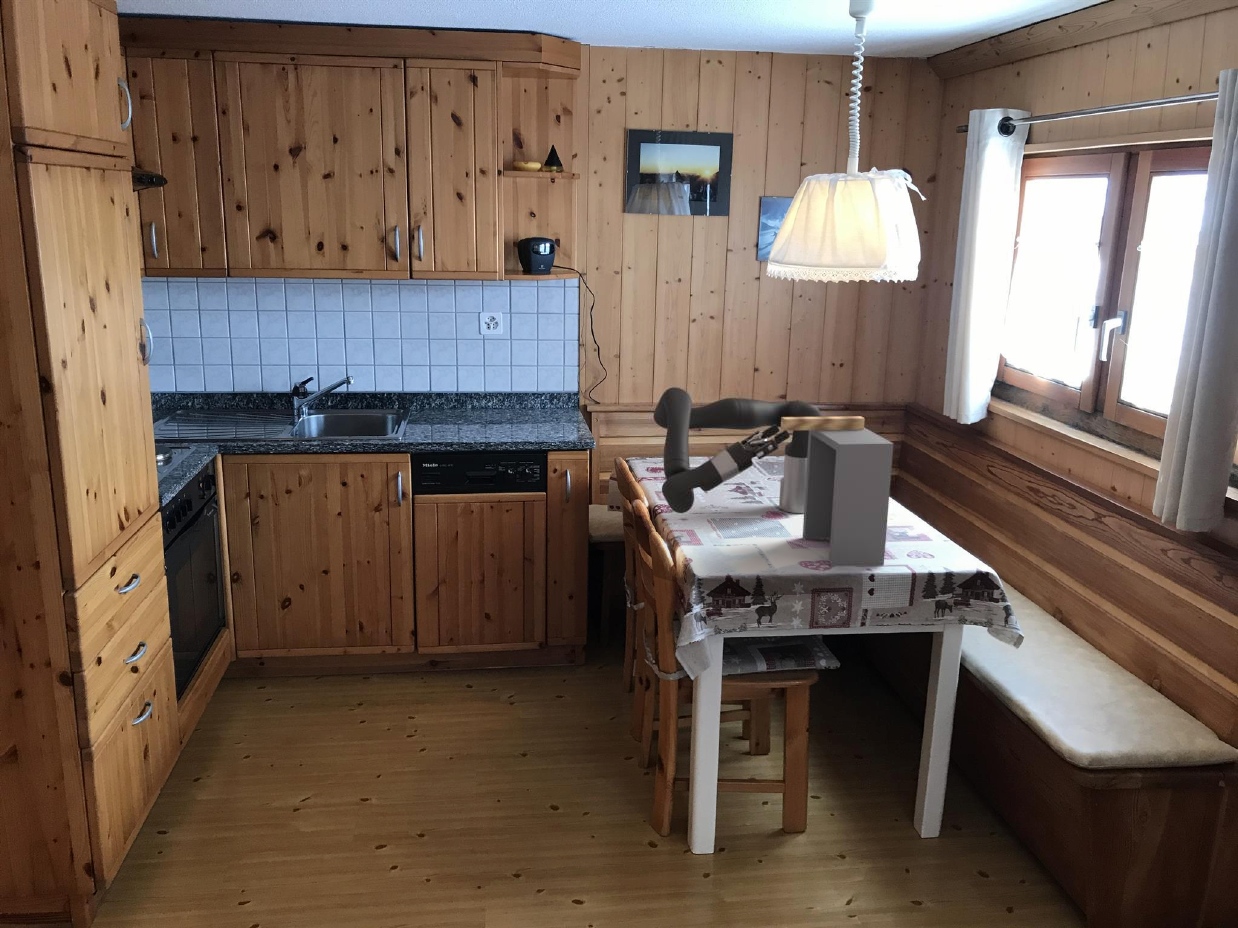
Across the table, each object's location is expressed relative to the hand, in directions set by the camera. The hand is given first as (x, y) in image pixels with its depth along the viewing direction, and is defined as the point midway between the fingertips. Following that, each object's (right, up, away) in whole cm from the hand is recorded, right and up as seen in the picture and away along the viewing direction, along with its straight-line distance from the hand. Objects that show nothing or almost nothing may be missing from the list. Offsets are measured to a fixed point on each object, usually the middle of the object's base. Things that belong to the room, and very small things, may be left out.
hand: (782, 430), depth 267 cm
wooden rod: (+11, 0, +2) cm, 11 cm away
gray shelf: (+16, -32, +3) cm, 36 cm away
